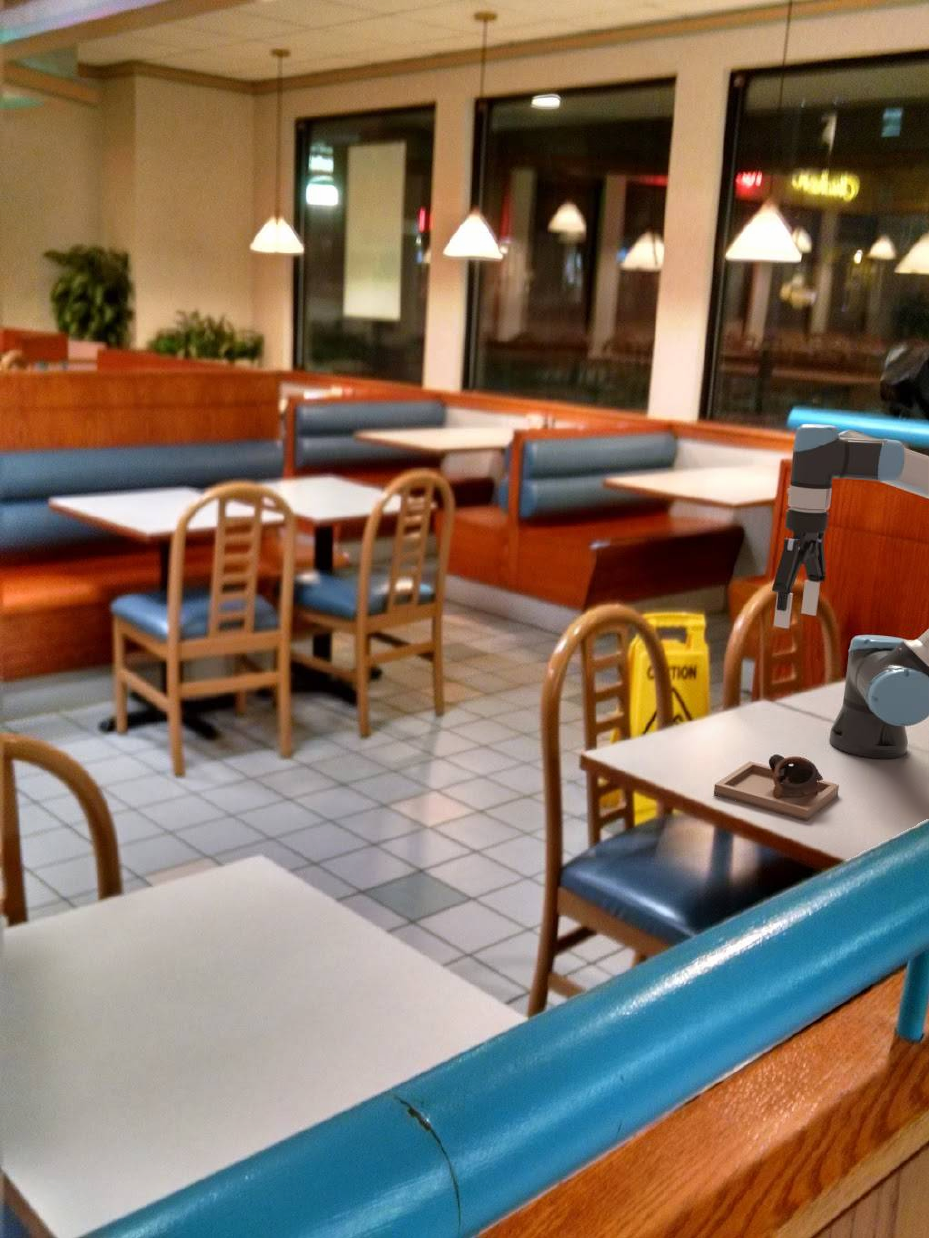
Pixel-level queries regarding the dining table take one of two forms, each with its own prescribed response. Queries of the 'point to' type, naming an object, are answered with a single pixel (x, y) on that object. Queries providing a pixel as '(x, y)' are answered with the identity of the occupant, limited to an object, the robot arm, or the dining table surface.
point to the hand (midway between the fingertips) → (795, 620)
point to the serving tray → (758, 787)
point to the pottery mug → (794, 777)
